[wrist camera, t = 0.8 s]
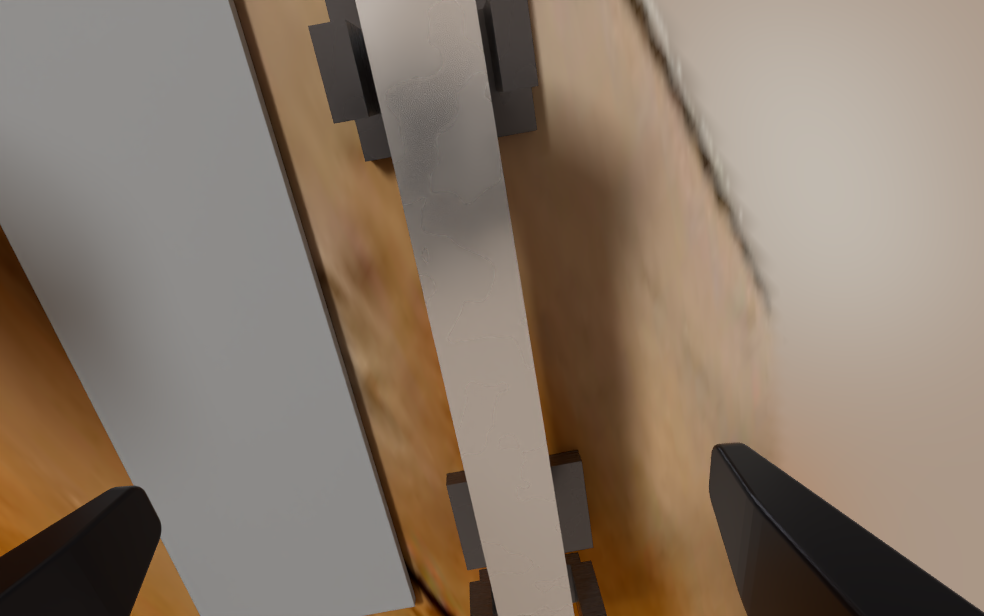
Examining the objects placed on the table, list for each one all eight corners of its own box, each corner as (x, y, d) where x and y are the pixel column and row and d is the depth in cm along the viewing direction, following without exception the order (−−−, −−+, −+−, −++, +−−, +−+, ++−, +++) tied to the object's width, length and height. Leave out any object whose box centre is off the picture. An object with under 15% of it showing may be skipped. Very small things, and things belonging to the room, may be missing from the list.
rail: (571, 621, 22) (585, 683, 20) (510, 632, 22) (516, 695, 20) (464, -34, 14) (465, -60, 11) (364, -16, 14) (346, -37, 11)
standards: (589, 535, 27) (634, 683, 20) (467, 556, 27) (471, 712, 20) (512, -31, 18) (545, -104, 11) (330, 2, 18) (255, -50, 11)
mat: (415, 597, 28) (414, 606, 27) (218, 633, 28) (213, 642, 27) (217, -52, 17) (211, -56, 17) (-97, 7, 17) (-112, 4, 17)
